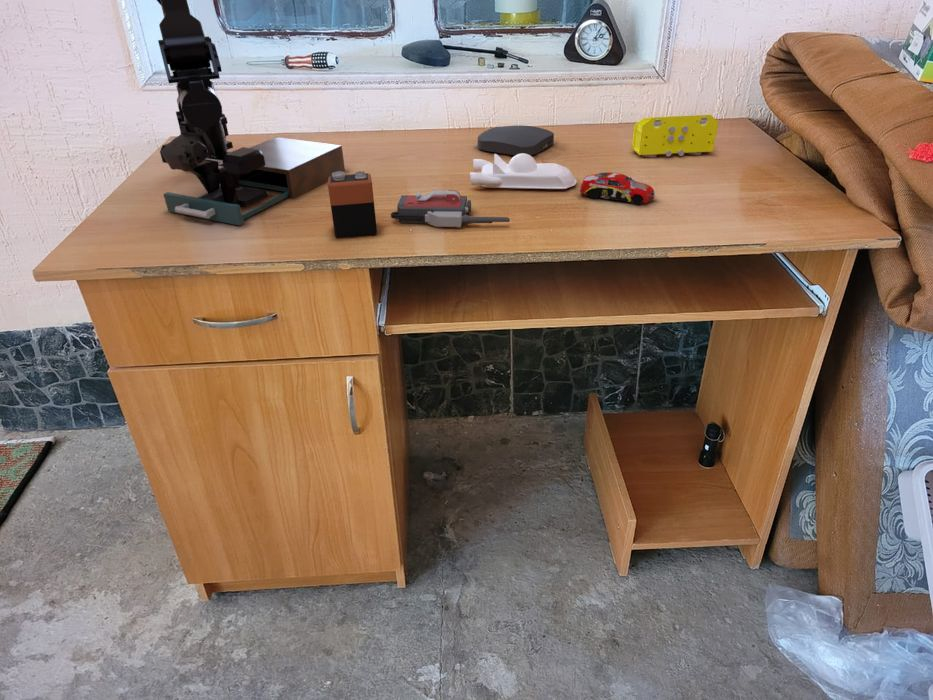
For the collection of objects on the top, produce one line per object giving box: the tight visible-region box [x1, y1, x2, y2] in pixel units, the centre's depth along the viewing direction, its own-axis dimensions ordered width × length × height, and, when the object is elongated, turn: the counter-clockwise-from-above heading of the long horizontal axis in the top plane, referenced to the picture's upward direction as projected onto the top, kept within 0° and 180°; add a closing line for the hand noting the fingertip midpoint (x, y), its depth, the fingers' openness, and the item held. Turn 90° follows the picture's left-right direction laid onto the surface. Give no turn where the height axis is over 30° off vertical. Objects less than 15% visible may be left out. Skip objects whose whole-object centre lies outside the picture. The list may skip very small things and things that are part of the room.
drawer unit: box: [239, 136, 346, 200], centre depth 128 cm, size 17×17×5 cm
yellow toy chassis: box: [631, 114, 719, 158], centre depth 136 cm, size 16×6×8 cm, turn 95°
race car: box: [579, 172, 656, 206], centre depth 117 cm, size 13×5×4 cm, turn 63°
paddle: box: [201, 186, 269, 207], centre depth 118 cm, size 6×12×3 cm, turn 154°
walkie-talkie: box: [390, 189, 510, 228], centre depth 109 cm, size 9×4×20 cm
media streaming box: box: [477, 124, 555, 156], centre depth 145 cm, size 15×15×3 cm
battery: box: [327, 170, 378, 239], centre depth 104 cm, size 4×7×10 cm, turn 100°
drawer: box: [163, 179, 290, 226], centre depth 117 cm, size 19×17×3 cm
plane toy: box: [469, 153, 577, 190], centre depth 123 cm, size 10×20×6 cm, turn 85°
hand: (223, 203), depth 116 cm, fingers closed on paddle, 2 cm apart
